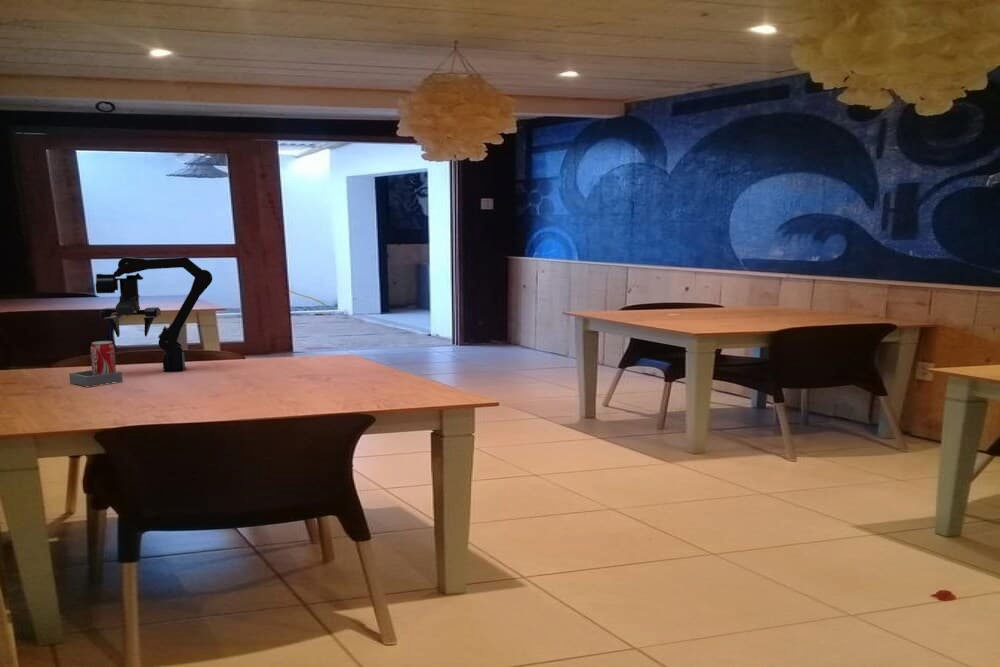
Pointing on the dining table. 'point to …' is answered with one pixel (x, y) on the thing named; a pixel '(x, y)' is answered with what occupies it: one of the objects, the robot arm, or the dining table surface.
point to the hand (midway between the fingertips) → (132, 336)
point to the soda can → (102, 358)
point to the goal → (94, 378)
